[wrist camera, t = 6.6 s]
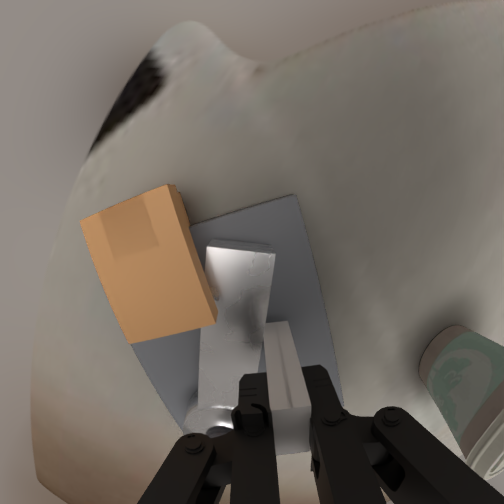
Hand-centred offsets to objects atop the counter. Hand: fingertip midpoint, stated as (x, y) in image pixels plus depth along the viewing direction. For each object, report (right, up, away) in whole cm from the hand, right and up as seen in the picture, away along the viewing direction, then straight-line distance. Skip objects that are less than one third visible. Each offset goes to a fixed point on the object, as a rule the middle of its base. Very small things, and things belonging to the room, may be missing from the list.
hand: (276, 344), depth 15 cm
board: (-3, -1, +3) cm, 4 cm away
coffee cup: (+15, -4, +4) cm, 16 cm away
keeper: (-6, +5, +2) cm, 8 cm away
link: (-3, -1, +1) cm, 3 cm away
